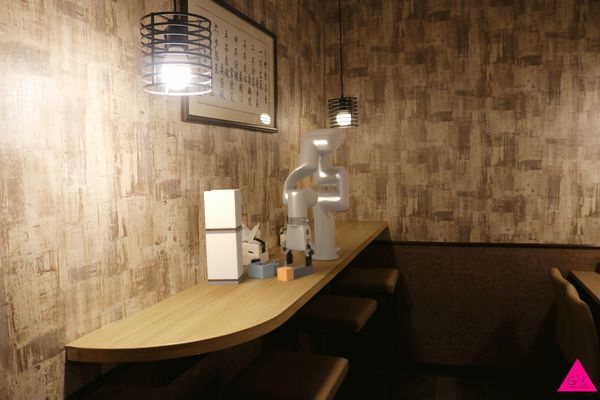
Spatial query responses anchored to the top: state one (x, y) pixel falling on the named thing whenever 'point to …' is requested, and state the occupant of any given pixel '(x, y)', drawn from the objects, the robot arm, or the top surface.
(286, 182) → the robot arm
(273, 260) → the clip
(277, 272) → the clip
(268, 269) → the end holder
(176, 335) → the top surface
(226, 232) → the white banded pillar
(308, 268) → the orange and grey bar
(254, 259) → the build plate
